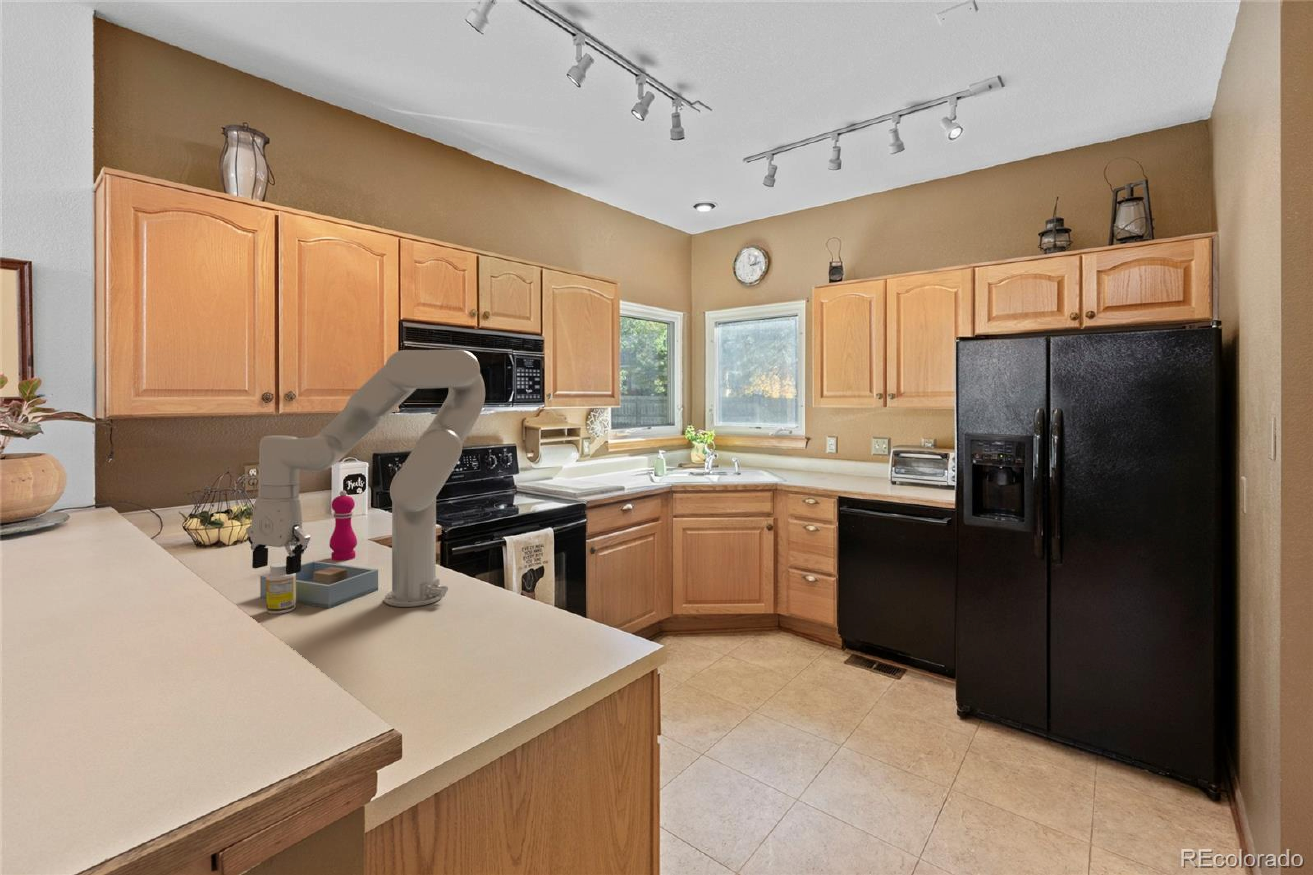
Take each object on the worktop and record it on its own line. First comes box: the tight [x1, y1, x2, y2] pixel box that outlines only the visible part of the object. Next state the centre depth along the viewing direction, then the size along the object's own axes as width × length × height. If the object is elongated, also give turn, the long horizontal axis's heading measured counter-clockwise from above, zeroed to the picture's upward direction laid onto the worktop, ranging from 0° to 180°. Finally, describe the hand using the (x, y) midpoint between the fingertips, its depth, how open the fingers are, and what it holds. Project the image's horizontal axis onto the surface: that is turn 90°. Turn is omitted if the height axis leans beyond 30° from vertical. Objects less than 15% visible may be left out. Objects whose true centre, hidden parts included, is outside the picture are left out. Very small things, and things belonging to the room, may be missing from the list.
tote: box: [259, 560, 379, 609], centre depth 144 cm, size 21×15×5 cm
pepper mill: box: [328, 489, 358, 562], centre depth 175 cm, size 7×7×20 cm
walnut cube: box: [313, 567, 347, 585], centre depth 143 cm, size 5×5×5 cm
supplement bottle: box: [266, 561, 297, 615], centre depth 132 cm, size 6×6×10 cm
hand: (276, 570), depth 131 cm, fingers open, 9 cm apart
